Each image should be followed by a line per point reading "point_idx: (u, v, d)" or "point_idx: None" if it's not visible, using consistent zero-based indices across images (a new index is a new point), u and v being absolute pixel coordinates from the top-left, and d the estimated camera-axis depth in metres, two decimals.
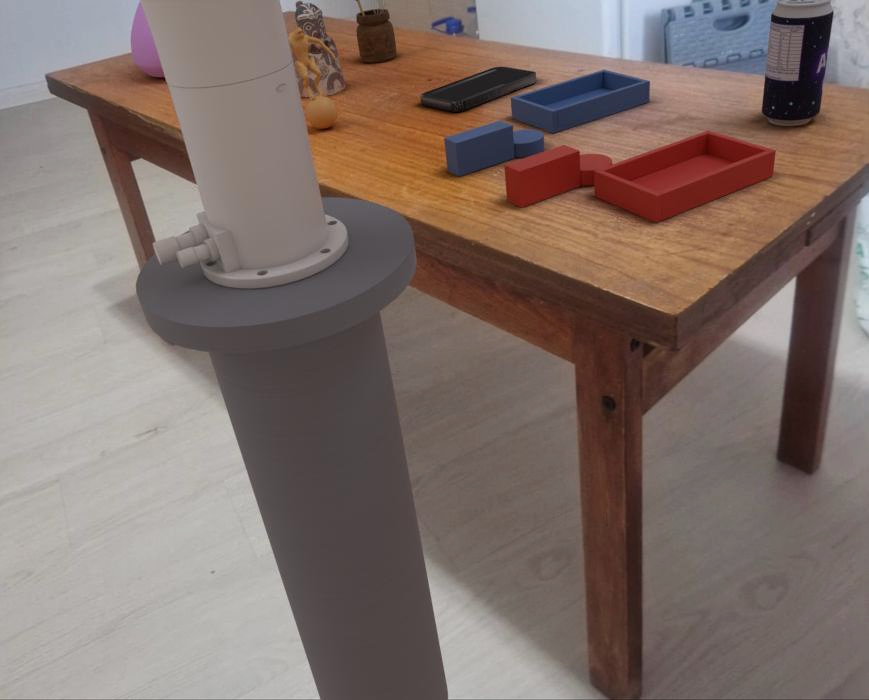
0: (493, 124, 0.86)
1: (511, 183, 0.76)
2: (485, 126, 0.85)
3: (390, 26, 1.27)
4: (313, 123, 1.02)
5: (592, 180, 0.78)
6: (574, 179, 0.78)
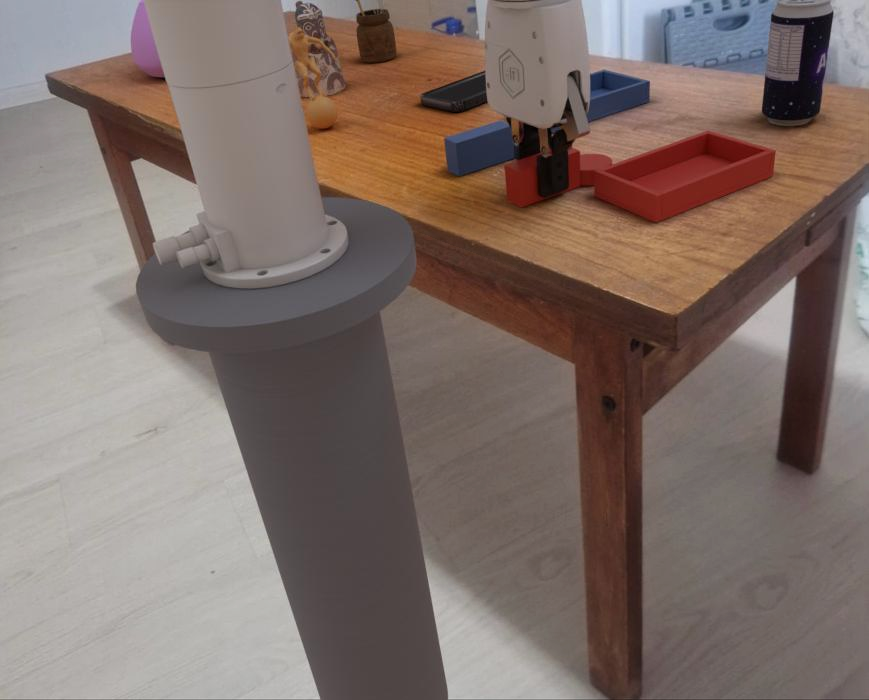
0: (493, 124, 0.86)
1: (511, 183, 0.76)
2: (485, 126, 0.85)
3: (390, 26, 1.27)
4: (313, 123, 1.02)
5: (592, 180, 0.78)
6: (574, 179, 0.78)
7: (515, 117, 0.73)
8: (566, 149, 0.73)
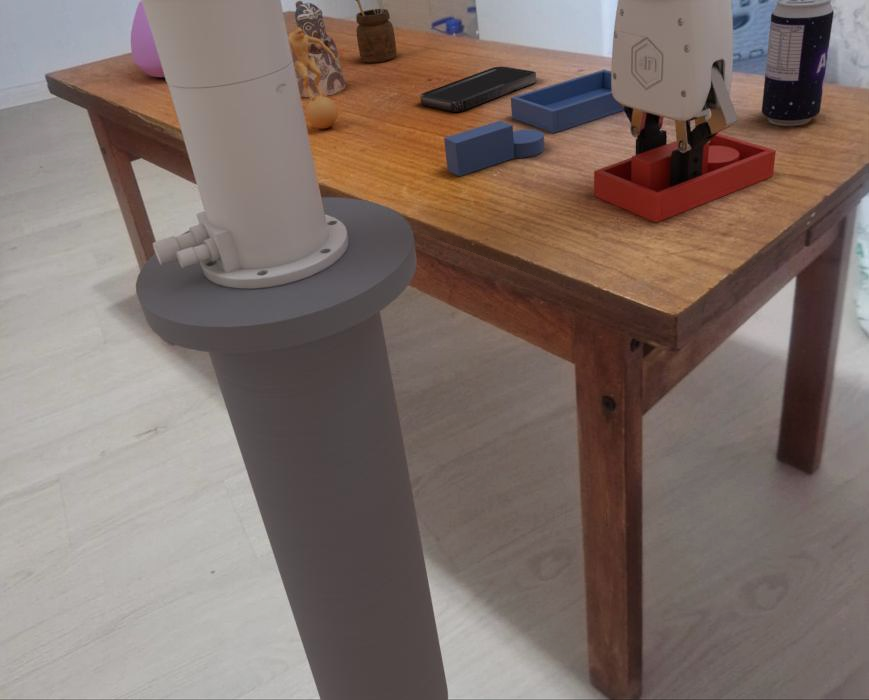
0: (493, 124, 0.86)
1: (639, 176, 0.72)
2: (485, 126, 0.85)
3: (390, 26, 1.27)
4: (313, 123, 1.02)
5: None
6: None
7: (647, 109, 0.69)
8: (705, 143, 0.70)
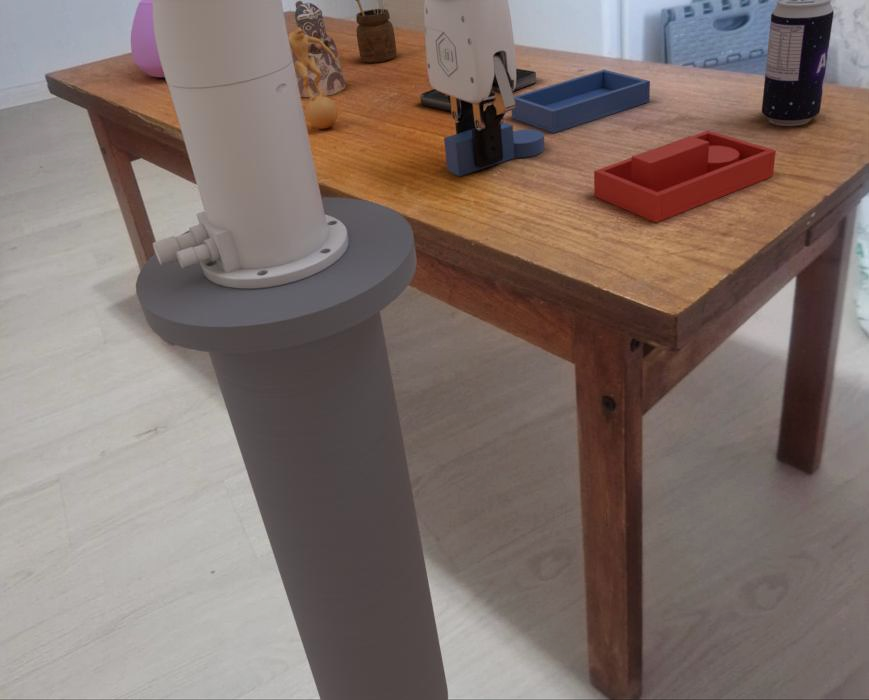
0: None
1: (639, 176, 0.72)
2: None
3: (390, 26, 1.27)
4: (313, 123, 1.02)
5: None
6: (701, 172, 0.74)
7: (451, 94, 0.81)
8: (498, 123, 0.82)
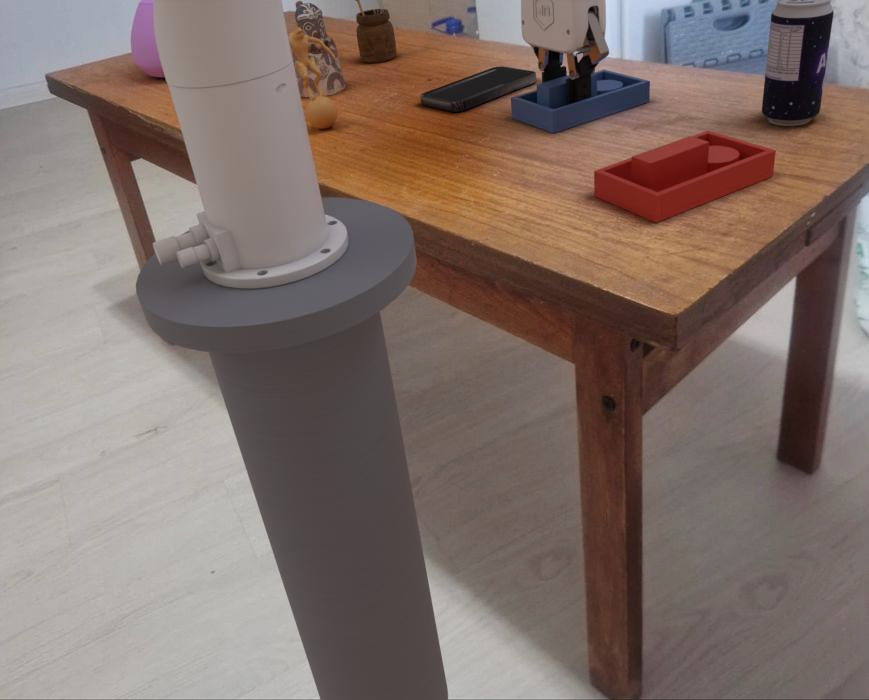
0: None
1: (639, 176, 0.72)
2: None
3: (390, 26, 1.27)
4: (313, 123, 1.02)
5: None
6: (701, 172, 0.74)
7: (545, 46, 0.91)
8: (590, 72, 0.91)
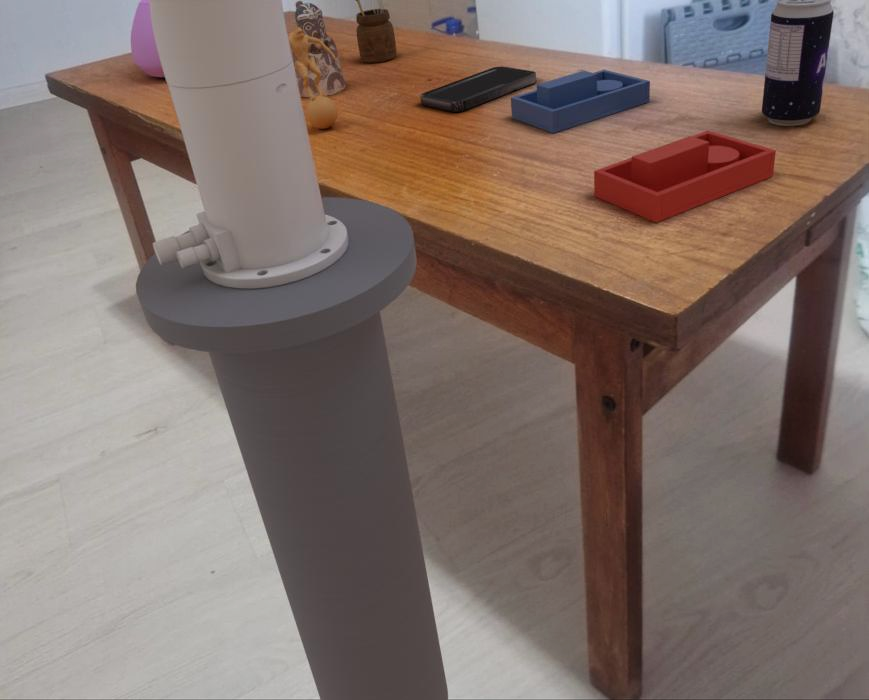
0: (579, 73, 0.96)
1: (639, 176, 0.72)
2: (572, 75, 0.96)
3: (390, 26, 1.27)
4: (313, 123, 1.02)
5: None
6: (701, 172, 0.74)
7: None
8: None
